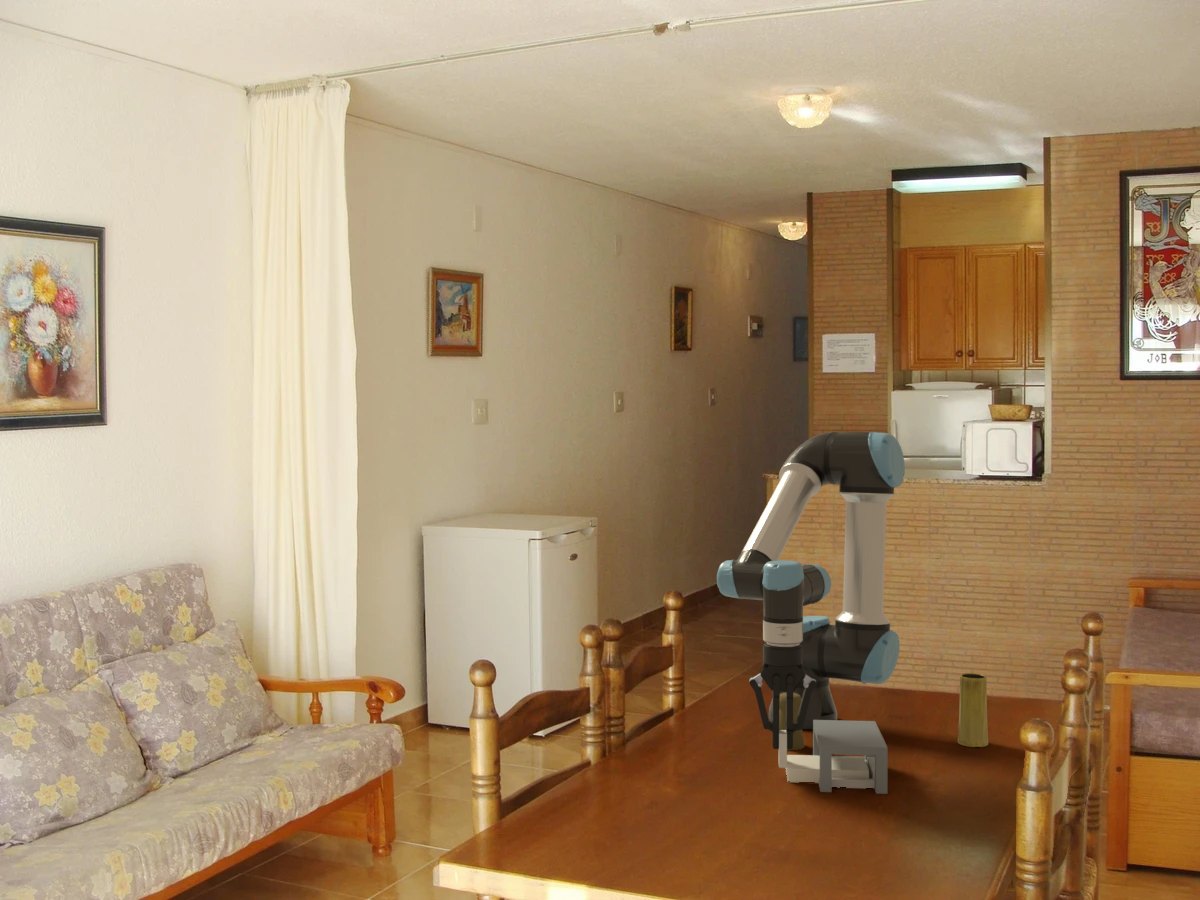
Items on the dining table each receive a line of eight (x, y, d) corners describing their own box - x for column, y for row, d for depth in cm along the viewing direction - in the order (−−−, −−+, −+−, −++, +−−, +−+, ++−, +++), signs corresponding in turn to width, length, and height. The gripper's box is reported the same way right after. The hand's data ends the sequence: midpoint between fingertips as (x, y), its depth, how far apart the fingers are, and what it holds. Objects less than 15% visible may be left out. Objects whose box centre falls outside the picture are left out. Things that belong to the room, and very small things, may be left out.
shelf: (813, 762, 234) (813, 719, 233) (874, 763, 233) (875, 721, 232) (820, 791, 216) (820, 745, 216) (887, 793, 215) (887, 747, 214)
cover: (785, 769, 231) (785, 754, 231) (863, 771, 229) (863, 756, 229) (787, 784, 222) (787, 768, 222) (869, 786, 220) (869, 770, 220)
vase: (992, 747, 243) (992, 679, 242) (962, 747, 243) (962, 679, 243) (983, 739, 249) (983, 672, 249) (953, 739, 249) (954, 672, 249)
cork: (803, 742, 248) (803, 690, 247) (805, 750, 242) (805, 697, 241) (774, 741, 248) (774, 689, 248) (775, 749, 242) (775, 696, 242)
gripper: (748, 646, 222) (748, 770, 222) (819, 647, 220) (818, 772, 221) (748, 638, 229) (747, 758, 230) (816, 639, 228) (815, 760, 228)
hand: (782, 765), depth 225 cm, fingers closed
